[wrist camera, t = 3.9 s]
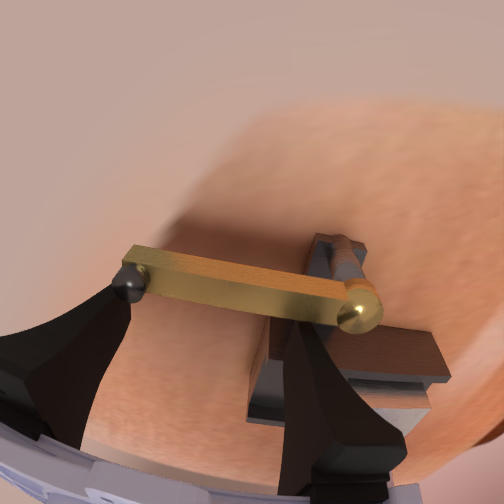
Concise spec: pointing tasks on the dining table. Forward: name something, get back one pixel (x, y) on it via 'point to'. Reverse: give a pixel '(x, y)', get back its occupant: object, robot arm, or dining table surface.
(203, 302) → the lever
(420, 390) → the knobbed drawer block
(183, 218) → the dining table surface
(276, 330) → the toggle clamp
